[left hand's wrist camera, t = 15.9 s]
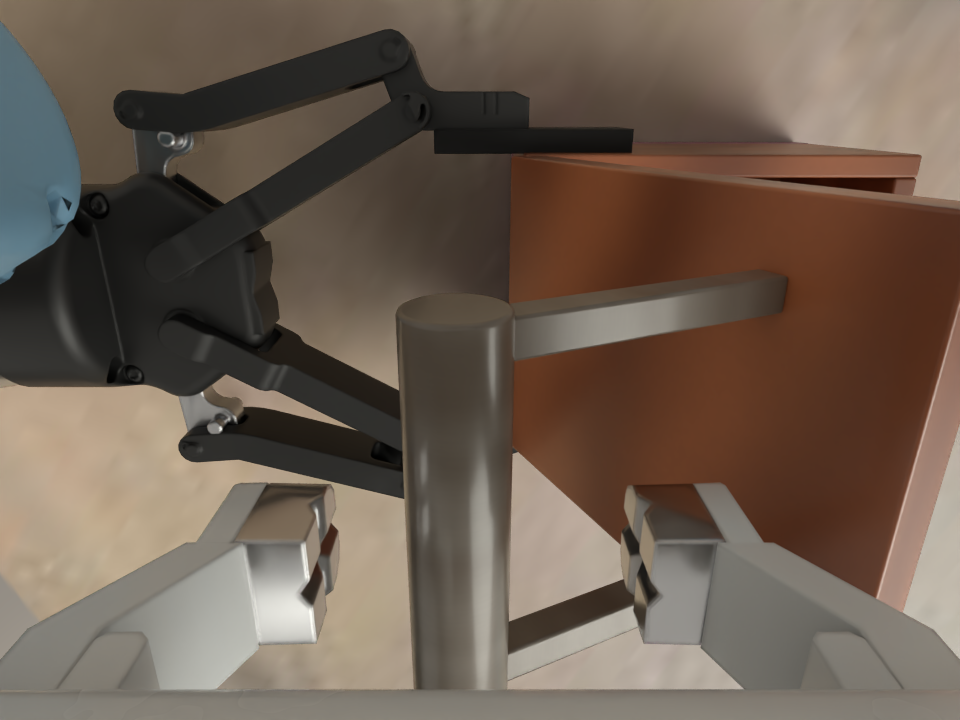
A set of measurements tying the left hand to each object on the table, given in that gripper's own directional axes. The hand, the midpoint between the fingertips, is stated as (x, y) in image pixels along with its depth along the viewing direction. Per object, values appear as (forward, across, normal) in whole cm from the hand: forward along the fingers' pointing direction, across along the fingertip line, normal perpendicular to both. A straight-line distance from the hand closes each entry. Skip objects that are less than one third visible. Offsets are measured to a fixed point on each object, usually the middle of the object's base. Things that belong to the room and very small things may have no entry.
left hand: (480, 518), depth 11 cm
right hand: (+15, +5, 0) cm, 15 cm away
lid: (+6, +5, 0) cm, 8 cm away
